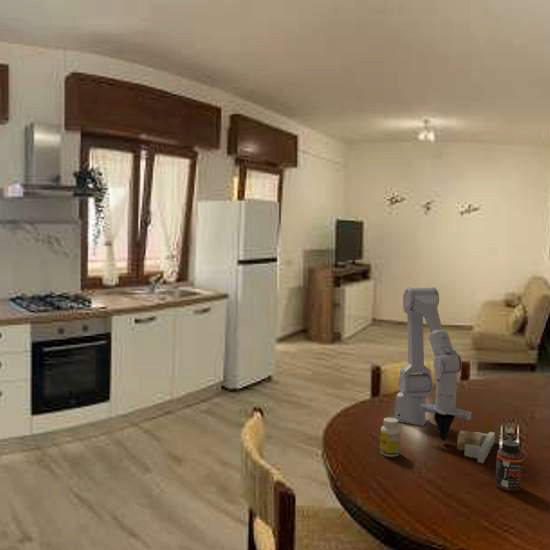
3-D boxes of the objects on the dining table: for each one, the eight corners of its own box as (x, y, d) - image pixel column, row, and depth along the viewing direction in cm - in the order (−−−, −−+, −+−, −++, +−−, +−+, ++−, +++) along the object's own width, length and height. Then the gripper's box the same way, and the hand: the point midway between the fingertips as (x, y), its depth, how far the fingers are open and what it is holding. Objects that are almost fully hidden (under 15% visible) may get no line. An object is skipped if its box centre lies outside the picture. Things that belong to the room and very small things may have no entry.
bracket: (462, 458, 165) (462, 448, 164) (475, 438, 180) (475, 429, 180) (483, 463, 162) (483, 452, 162) (494, 442, 178) (494, 432, 177)
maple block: (457, 450, 172) (457, 436, 171) (460, 443, 177) (460, 430, 177) (478, 454, 169) (479, 440, 169) (481, 447, 174) (482, 433, 174)
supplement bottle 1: (377, 449, 170) (378, 416, 169) (396, 449, 171) (397, 416, 170) (382, 457, 165) (384, 423, 164) (401, 457, 165) (403, 422, 164)
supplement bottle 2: (509, 494, 144) (511, 449, 143) (489, 484, 149) (492, 440, 148) (526, 489, 147) (529, 445, 145) (506, 480, 152) (509, 436, 151)
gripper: (417, 393, 175) (415, 438, 176) (468, 401, 168) (466, 448, 169) (424, 387, 181) (422, 430, 182) (473, 395, 174) (471, 440, 175)
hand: (443, 438), depth 176 cm, fingers closed
